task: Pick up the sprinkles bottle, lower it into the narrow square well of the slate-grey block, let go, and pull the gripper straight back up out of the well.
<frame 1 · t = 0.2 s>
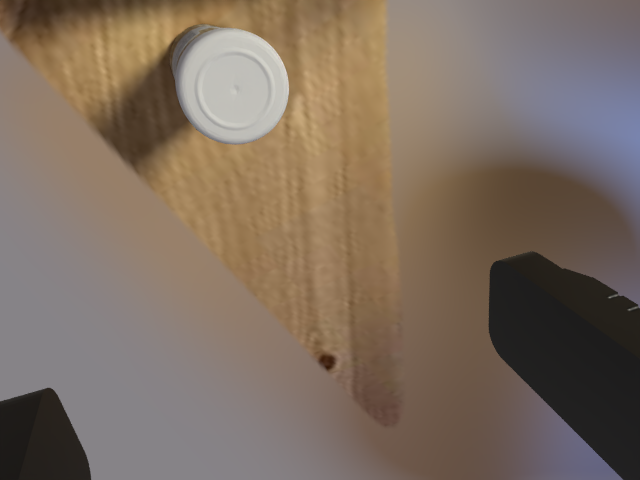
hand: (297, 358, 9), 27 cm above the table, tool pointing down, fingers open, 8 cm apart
sprinkles bottle: (205, 61, 32), on the table
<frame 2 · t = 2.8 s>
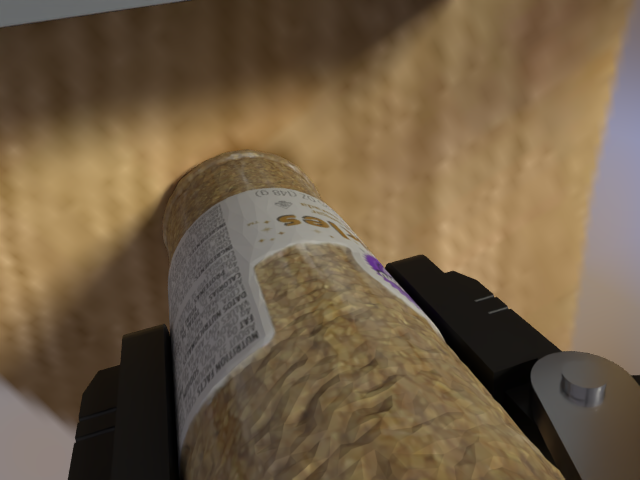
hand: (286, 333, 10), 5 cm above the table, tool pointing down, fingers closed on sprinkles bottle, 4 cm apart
sprinkles bottle: (241, 220, 15), on the table, touching gripper
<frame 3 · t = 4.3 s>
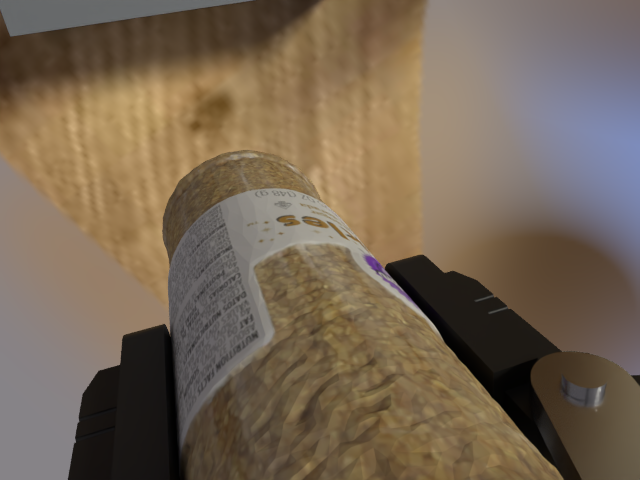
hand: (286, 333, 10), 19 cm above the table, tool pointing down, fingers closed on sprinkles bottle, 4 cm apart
sprinkles bottle: (241, 221, 15), point 13 cm above the table, touching gripper
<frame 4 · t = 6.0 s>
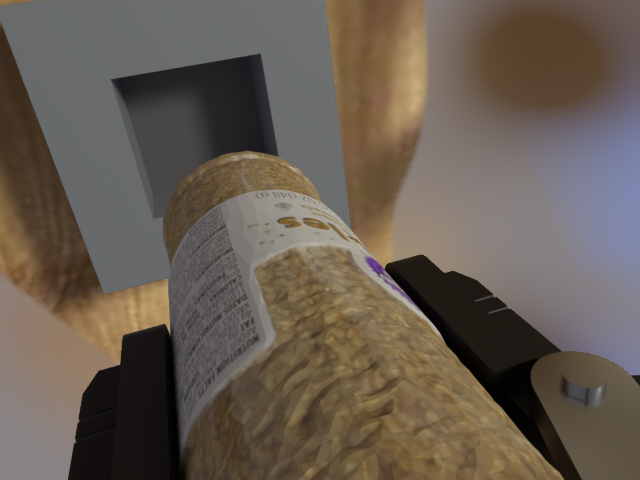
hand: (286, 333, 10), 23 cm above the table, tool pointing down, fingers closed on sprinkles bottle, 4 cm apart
sprinkles bottle: (241, 222, 15), point 17 cm above the table, touching gripper
well block: (197, 120, 30), on the table
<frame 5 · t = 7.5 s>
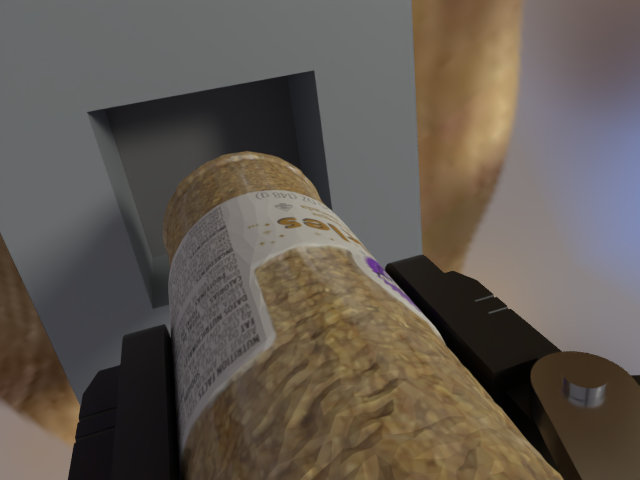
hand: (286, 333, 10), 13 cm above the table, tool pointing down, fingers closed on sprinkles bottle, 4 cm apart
sprinkles bottle: (241, 222, 15), point 8 cm above the table, touching gripper
well block: (213, 157, 22), on the table
when the fingers open (7 cm above the table, at t = 9.1 s): sprinkles bottle drops 1 cm, resting on well block.
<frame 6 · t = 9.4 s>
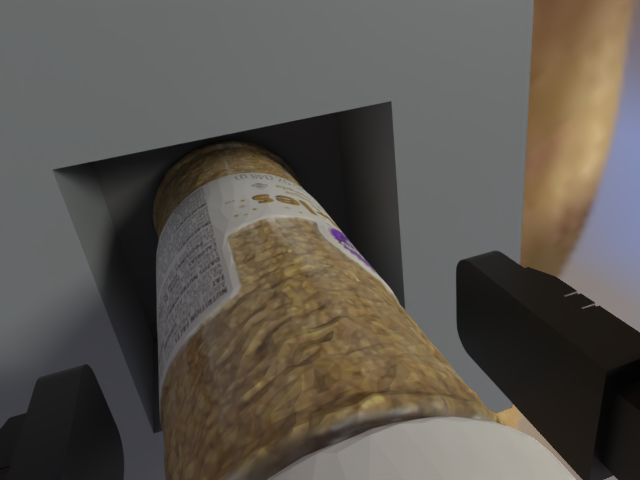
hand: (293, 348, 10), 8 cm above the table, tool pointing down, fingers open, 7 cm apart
sprinkles bottle: (227, 208, 16), point 1 cm above the table, touching well block
well block: (233, 206, 16), on the table
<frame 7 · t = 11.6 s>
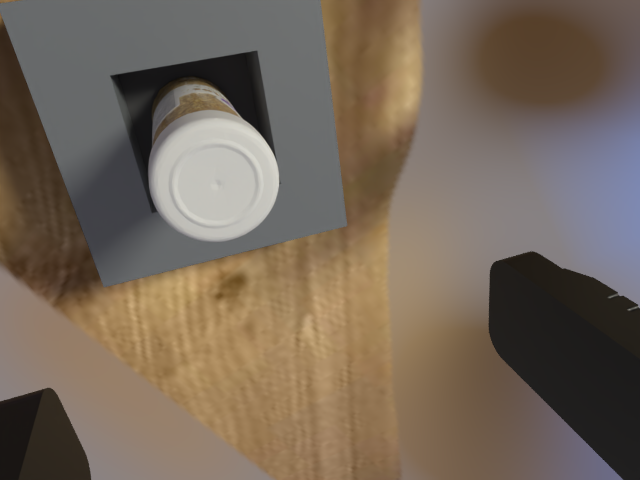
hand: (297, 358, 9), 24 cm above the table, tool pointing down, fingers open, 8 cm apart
sprinkles bottle: (191, 115, 29), point 1 cm above the table, touching well block
well block: (195, 116, 30), on the table
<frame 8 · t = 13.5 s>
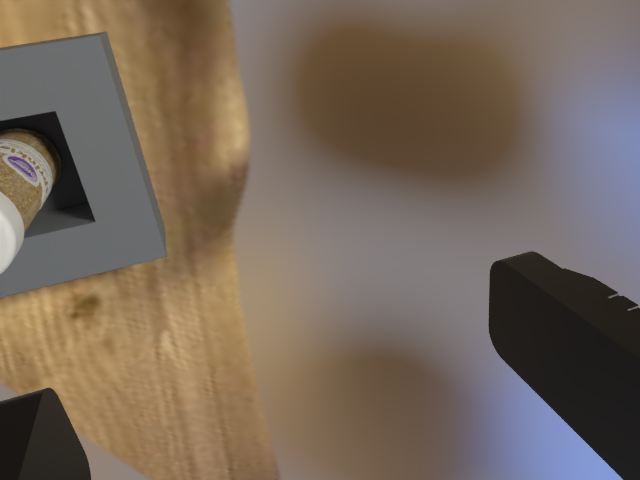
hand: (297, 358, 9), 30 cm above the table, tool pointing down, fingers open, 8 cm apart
sprinkles bottle: (24, 159, 33), point 1 cm above the table, touching well block
well block: (31, 159, 34), on the table
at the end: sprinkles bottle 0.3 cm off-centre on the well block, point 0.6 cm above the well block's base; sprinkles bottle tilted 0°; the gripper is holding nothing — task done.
